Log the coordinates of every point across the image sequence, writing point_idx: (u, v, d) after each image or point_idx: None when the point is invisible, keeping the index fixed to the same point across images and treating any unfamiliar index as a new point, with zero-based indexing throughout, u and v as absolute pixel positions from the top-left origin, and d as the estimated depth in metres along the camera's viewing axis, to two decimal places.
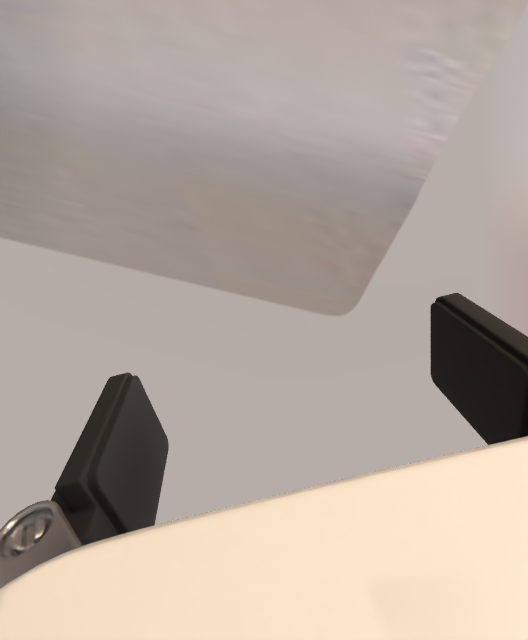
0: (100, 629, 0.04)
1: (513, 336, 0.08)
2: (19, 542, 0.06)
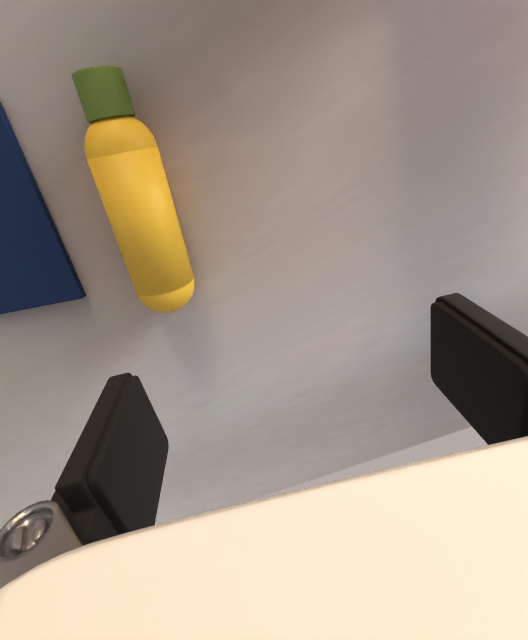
0: (100, 629, 0.04)
1: (513, 336, 0.08)
2: (19, 542, 0.06)
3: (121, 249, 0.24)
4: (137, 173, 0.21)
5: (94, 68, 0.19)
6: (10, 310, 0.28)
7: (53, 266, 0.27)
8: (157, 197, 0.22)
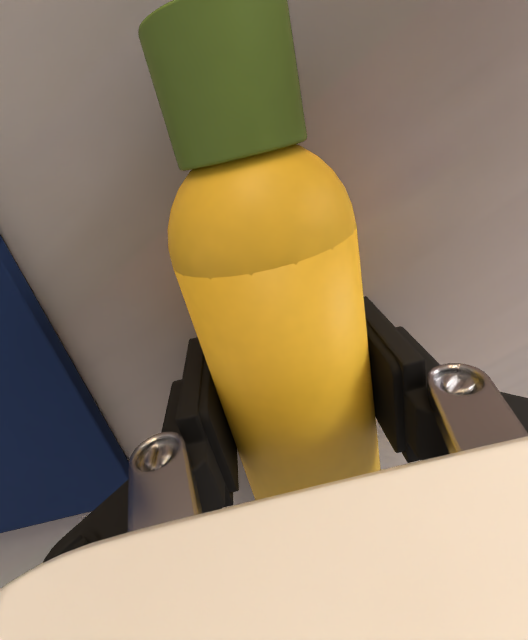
0: (100, 629, 0.04)
1: (392, 335, 0.09)
2: (152, 462, 0.07)
3: (246, 459, 0.10)
4: (329, 309, 0.07)
5: None
6: None
7: (82, 456, 0.13)
8: (359, 353, 0.08)
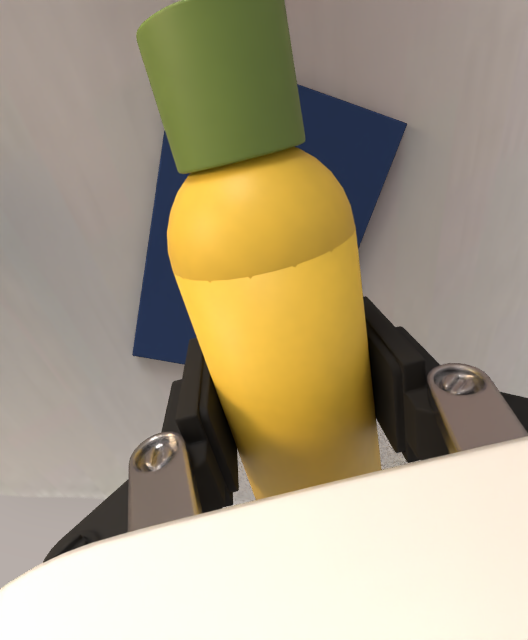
0: (100, 629, 0.04)
1: (392, 335, 0.09)
2: (152, 462, 0.07)
3: (247, 460, 0.10)
4: (328, 311, 0.07)
5: None
6: (368, 217, 0.24)
7: (358, 128, 0.21)
8: (359, 355, 0.08)
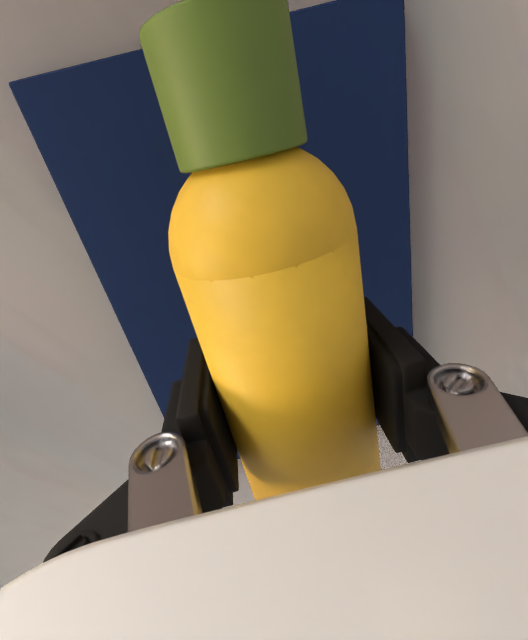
0: (100, 629, 0.04)
1: (392, 335, 0.09)
2: (152, 462, 0.07)
3: (247, 461, 0.10)
4: (329, 312, 0.07)
5: None
6: (405, 165, 0.15)
7: (325, 43, 0.13)
8: (360, 355, 0.08)
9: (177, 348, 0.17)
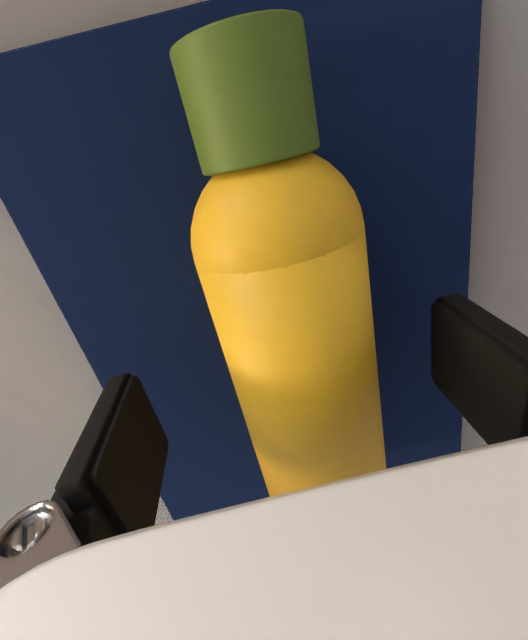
0: (100, 629, 0.04)
1: (513, 336, 0.08)
2: (19, 542, 0.06)
3: (267, 450, 0.10)
4: (349, 297, 0.08)
5: (263, 14, 0.06)
6: (469, 181, 0.11)
7: (373, 15, 0.09)
8: (371, 338, 0.09)
9: (171, 407, 0.14)
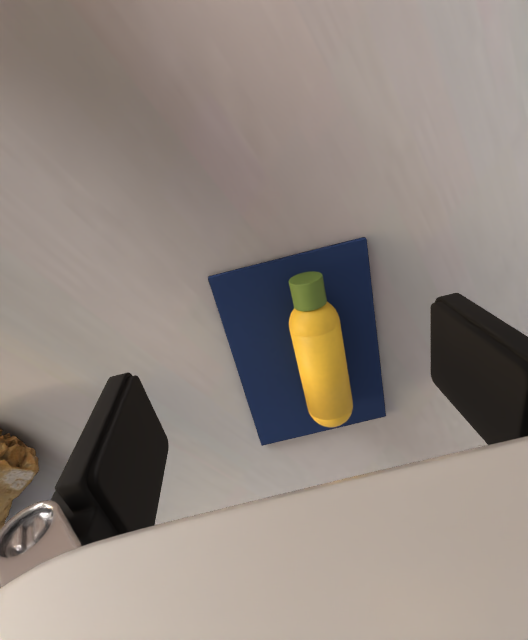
0: (100, 629, 0.04)
1: (513, 336, 0.08)
2: (19, 542, 0.06)
3: (316, 390, 0.31)
4: (339, 338, 0.30)
5: (317, 280, 0.28)
6: (371, 300, 0.33)
7: (335, 258, 0.31)
8: None
9: (262, 380, 0.35)
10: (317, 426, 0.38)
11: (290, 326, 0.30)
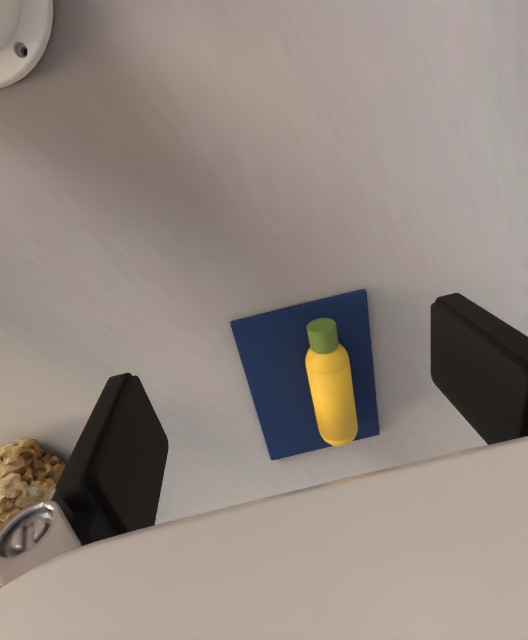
0: (100, 629, 0.04)
1: (513, 336, 0.08)
2: (19, 542, 0.06)
3: (334, 417, 0.37)
4: (350, 370, 0.36)
5: (334, 326, 0.33)
6: (369, 340, 0.38)
7: (339, 307, 0.36)
8: None
9: (274, 406, 0.41)
10: (320, 443, 0.44)
11: (310, 367, 0.35)
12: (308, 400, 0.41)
